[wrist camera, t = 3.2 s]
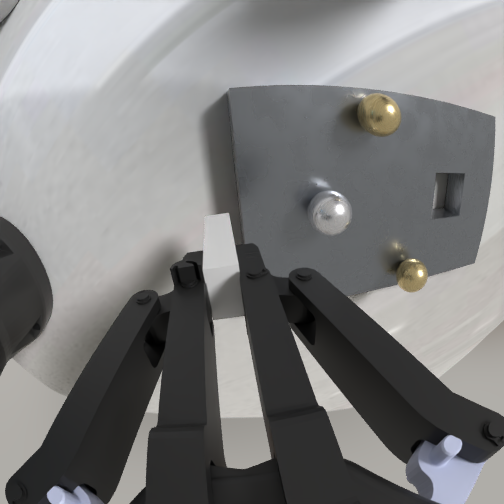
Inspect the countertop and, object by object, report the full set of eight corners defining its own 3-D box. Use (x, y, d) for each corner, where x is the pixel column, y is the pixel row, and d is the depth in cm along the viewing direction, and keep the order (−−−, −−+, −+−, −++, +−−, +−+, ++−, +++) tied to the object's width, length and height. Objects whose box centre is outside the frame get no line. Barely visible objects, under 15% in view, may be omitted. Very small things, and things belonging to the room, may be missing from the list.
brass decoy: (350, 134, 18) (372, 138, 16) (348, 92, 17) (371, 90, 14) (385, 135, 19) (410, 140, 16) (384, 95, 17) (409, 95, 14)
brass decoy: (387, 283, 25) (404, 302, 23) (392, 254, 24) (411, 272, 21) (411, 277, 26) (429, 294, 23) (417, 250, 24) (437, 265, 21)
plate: (248, 297, 27) (252, 313, 24) (226, 91, 18) (229, 88, 16) (462, 253, 29) (474, 263, 27) (479, 114, 21) (495, 117, 19)
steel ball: (301, 228, 21) (316, 246, 18) (301, 187, 20) (316, 200, 17) (340, 223, 22) (358, 240, 19) (341, 184, 20) (361, 196, 17)
